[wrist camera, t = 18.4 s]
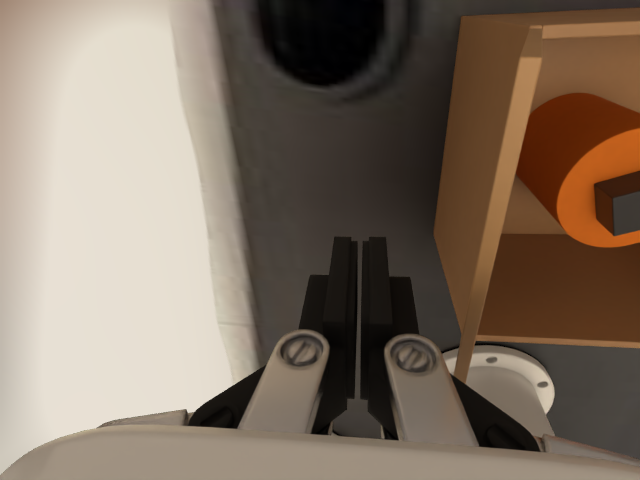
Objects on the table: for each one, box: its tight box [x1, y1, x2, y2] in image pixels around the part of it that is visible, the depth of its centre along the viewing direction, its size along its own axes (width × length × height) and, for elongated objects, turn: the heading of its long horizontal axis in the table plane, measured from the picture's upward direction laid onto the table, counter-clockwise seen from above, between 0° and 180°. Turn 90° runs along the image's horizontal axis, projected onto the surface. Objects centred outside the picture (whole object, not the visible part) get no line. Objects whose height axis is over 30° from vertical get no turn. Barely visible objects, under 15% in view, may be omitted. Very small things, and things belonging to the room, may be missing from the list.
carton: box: [433, 7, 640, 348], centre depth 19 cm, size 14×14×10 cm
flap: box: [453, 29, 542, 384], centre depth 12 cm, size 14×7×1 cm
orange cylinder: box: [516, 93, 640, 247], centre depth 20 cm, size 6×6×9 cm
